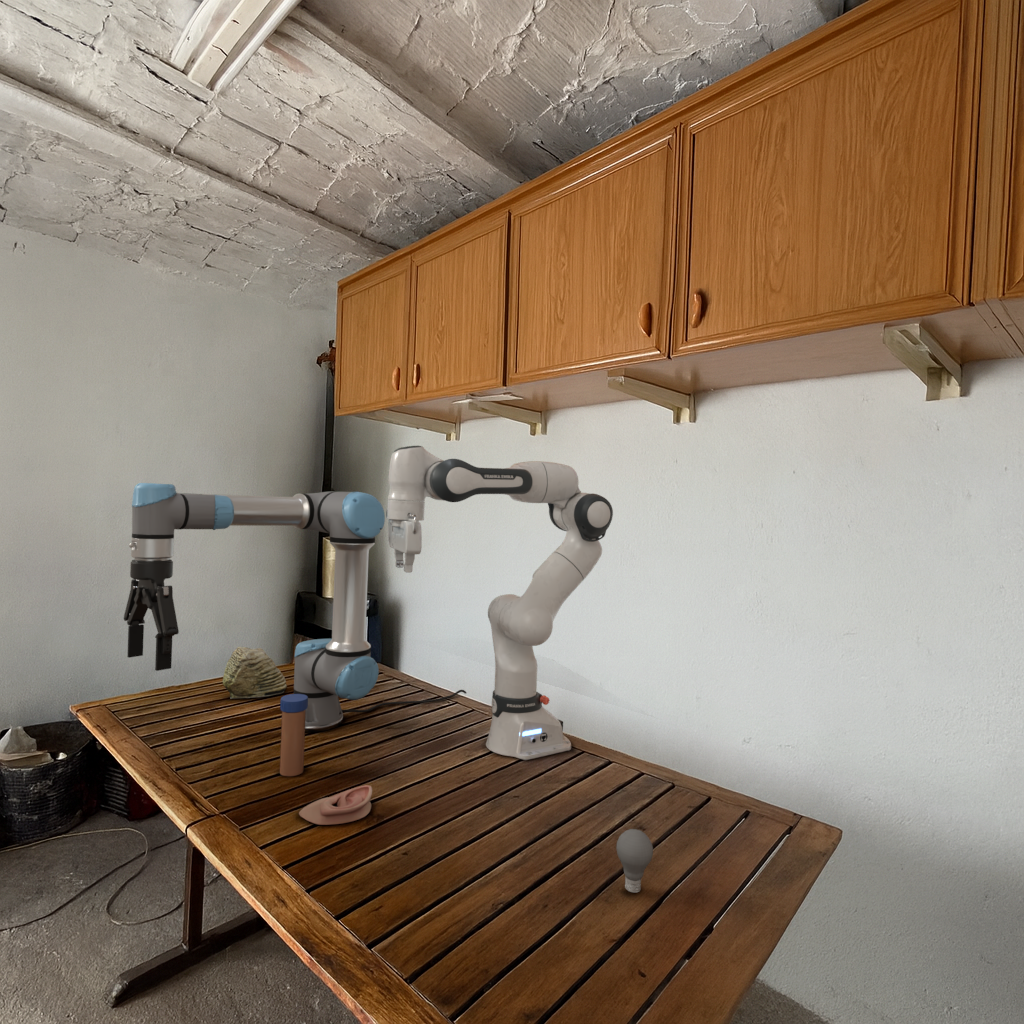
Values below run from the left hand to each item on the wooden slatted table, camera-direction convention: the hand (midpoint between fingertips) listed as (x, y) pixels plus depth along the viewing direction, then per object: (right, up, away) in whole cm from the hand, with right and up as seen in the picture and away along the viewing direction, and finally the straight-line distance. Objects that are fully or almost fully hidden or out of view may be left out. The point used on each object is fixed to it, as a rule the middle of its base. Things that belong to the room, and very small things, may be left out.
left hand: (148, 662), depth 129 cm
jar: (+24, -29, +16) cm, 41 cm away
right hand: (+48, +17, +24) cm, 56 cm away
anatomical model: (+39, -30, -2) cm, 49 cm away
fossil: (-6, -27, +69) cm, 74 cm away
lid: (+24, -12, +16) cm, 31 cm away
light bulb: (+94, -33, -24) cm, 103 cm away
